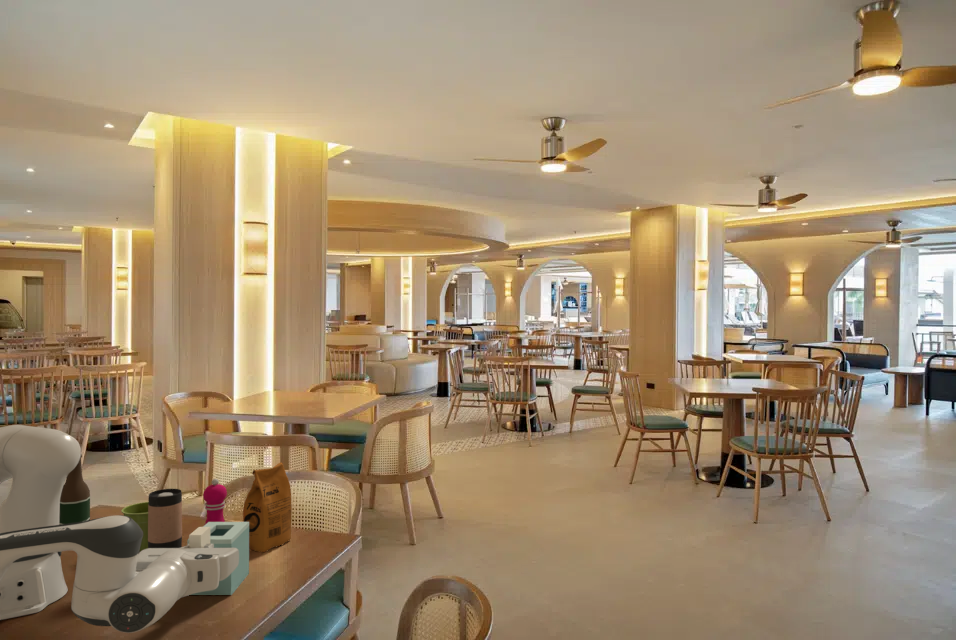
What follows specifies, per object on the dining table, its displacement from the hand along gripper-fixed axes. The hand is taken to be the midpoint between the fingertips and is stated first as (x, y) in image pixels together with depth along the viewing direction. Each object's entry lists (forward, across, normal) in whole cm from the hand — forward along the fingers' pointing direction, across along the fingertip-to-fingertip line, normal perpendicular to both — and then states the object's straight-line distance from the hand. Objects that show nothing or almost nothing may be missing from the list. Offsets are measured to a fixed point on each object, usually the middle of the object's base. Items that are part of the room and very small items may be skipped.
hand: (201, 547), depth 134 cm
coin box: (+12, -1, -14) cm, 18 cm away
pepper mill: (+32, -10, -14) cm, 36 cm away
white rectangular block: (-1, 0, -5) cm, 5 cm away
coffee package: (+38, +3, -14) cm, 40 cm away
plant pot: (+36, -30, -14) cm, 49 cm away
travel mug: (+19, -17, -14) cm, 29 cm away
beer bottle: (+45, -55, -14) cm, 72 cm away
